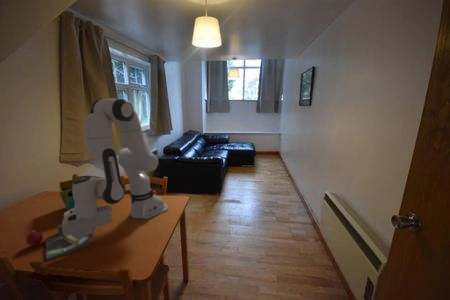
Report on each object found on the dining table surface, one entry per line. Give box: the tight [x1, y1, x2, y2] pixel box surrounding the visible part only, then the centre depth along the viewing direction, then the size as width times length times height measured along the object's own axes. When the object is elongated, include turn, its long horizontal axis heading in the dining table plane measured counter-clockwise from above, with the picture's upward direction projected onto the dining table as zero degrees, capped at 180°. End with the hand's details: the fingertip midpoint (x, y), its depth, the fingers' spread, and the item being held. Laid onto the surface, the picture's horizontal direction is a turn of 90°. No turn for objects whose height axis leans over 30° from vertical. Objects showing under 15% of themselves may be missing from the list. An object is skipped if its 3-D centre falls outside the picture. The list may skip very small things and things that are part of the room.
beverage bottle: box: [66, 191, 75, 211], centre depth 117 cm, size 6×7×20 cm
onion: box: [25, 230, 44, 247], centre depth 101 cm, size 6×6×8 cm
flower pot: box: [57, 175, 94, 209], centre depth 136 cm, size 19×19×17 cm
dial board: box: [45, 229, 93, 262], centre depth 103 cm, size 17×16×1 cm
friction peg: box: [56, 223, 79, 246], centre depth 102 cm, size 2×15×6 cm, turn 61°
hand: (90, 236), depth 103 cm, fingers closed
